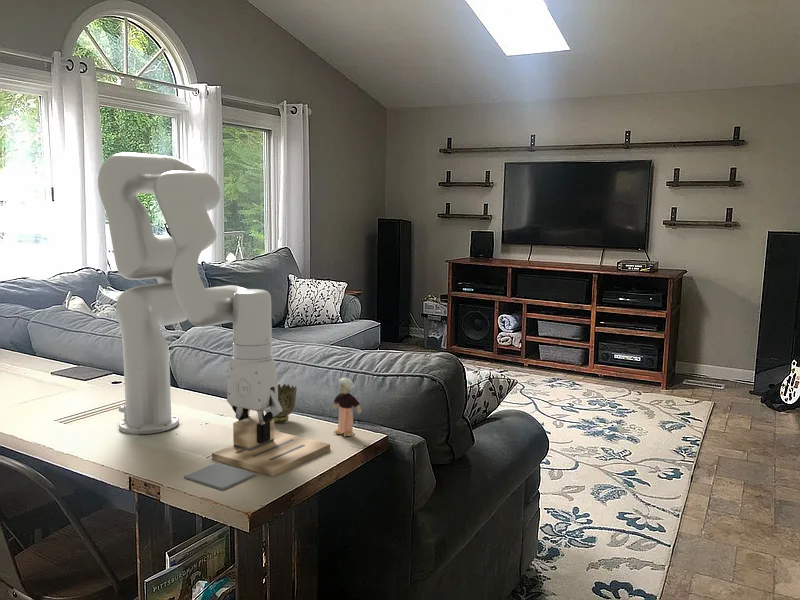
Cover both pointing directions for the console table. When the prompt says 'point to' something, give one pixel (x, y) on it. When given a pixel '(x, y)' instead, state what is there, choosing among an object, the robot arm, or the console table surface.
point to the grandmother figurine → (346, 407)
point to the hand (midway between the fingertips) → (254, 438)
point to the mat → (219, 476)
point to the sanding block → (249, 433)
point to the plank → (273, 454)
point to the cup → (285, 402)
